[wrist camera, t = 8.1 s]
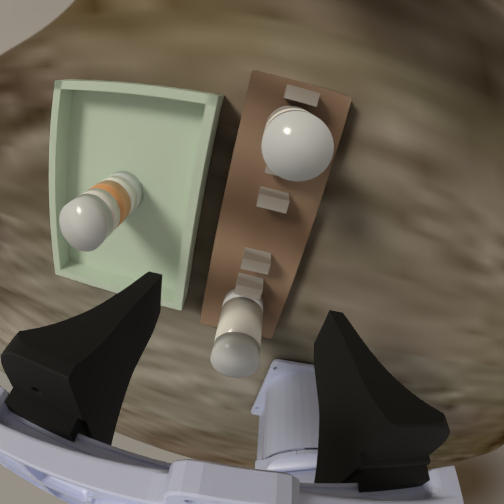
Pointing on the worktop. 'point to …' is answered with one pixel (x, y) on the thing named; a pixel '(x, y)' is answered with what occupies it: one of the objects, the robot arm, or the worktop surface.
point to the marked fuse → (100, 210)
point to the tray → (139, 164)
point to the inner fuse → (238, 336)
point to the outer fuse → (296, 144)
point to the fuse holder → (267, 204)
